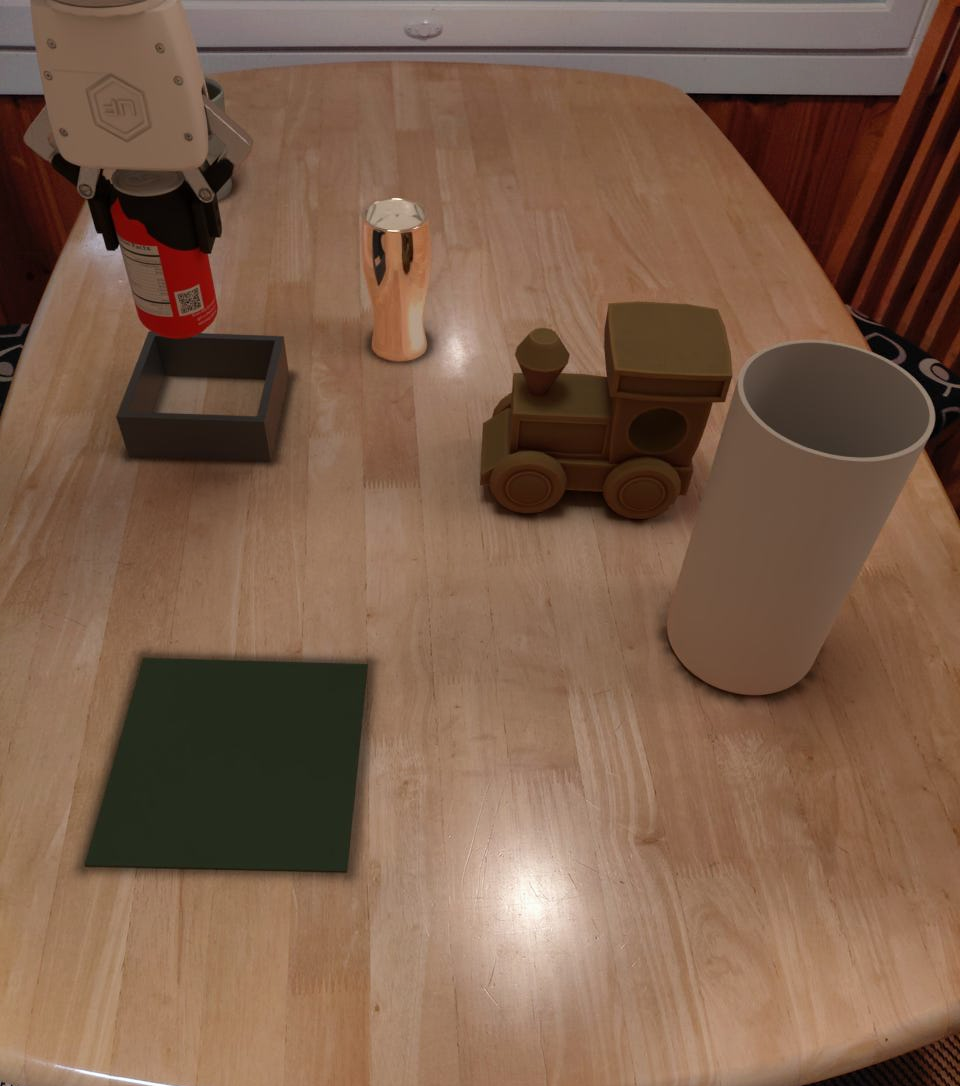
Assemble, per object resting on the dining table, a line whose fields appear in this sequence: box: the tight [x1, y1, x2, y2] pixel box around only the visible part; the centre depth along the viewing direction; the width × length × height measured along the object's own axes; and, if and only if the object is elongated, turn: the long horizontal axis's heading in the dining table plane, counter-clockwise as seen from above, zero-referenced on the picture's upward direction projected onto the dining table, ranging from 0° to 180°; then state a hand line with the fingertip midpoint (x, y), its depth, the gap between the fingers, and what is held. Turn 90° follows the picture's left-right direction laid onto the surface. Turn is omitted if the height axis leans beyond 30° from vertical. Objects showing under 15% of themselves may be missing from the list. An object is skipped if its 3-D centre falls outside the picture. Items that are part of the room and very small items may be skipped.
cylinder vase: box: [666, 339, 936, 696], centre depth 72 cm, size 12×12×25 cm
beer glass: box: [360, 197, 432, 362], centre depth 100 cm, size 7×7×15 cm
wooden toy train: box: [479, 300, 733, 520], centre depth 86 cm, size 20×11×17 cm, turn 88°
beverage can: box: [109, 169, 219, 339], centre depth 74 cm, size 6×6×12 cm
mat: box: [84, 657, 368, 873], centre depth 72 cm, size 18×18×1 cm
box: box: [115, 330, 290, 463], centre depth 95 cm, size 14×14×5 cm
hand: (162, 241), depth 73 cm, fingers closed on beverage can, 6 cm apart
